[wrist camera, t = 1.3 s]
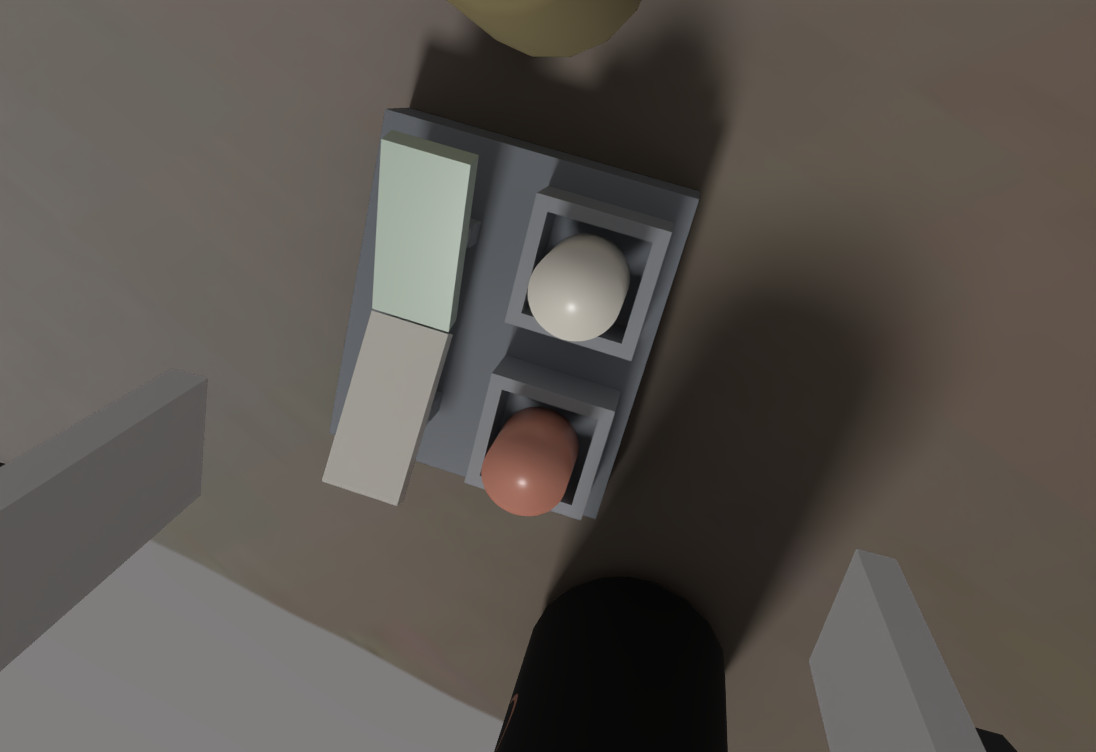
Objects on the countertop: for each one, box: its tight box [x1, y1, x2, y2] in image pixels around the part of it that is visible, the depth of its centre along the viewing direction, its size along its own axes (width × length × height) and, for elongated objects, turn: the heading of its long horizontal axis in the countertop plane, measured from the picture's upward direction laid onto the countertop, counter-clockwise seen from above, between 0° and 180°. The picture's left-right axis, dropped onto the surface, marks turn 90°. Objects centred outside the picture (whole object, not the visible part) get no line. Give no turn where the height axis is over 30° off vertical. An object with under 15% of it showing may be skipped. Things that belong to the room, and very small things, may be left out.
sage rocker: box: [372, 130, 479, 332], centre depth 34 cm, size 4×8×2 cm, turn 165°
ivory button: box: [528, 233, 630, 341], centre depth 32 cm, size 4×4×3 cm
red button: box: [481, 407, 579, 516], centre depth 35 cm, size 4×4×3 cm
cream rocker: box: [322, 311, 453, 506], centre depth 37 cm, size 4×8×2 cm, turn 165°
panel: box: [329, 108, 700, 520], centre depth 37 cm, size 14×16×6 cm
